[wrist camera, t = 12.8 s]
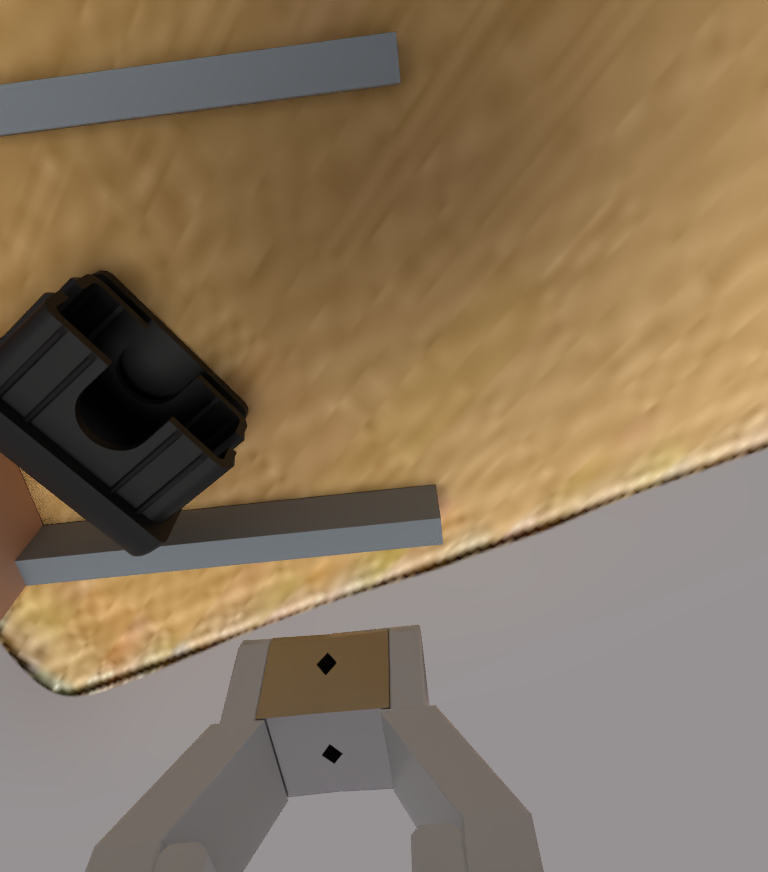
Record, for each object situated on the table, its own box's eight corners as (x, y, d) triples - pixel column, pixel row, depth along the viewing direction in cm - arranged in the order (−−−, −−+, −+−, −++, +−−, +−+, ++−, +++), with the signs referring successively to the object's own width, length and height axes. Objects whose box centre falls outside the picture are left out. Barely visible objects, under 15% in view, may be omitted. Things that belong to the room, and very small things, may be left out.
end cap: (-4, 357, 30) (-100, 421, 24) (94, 255, 28) (17, 297, 22) (162, 497, 34) (115, 584, 28) (260, 416, 32) (233, 490, 26)
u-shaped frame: (-171, 114, 25) (-316, 118, 20) (393, 39, 24) (398, 21, 19) (25, 551, 35) (-39, 632, 30) (437, 509, 34) (448, 585, 29)
